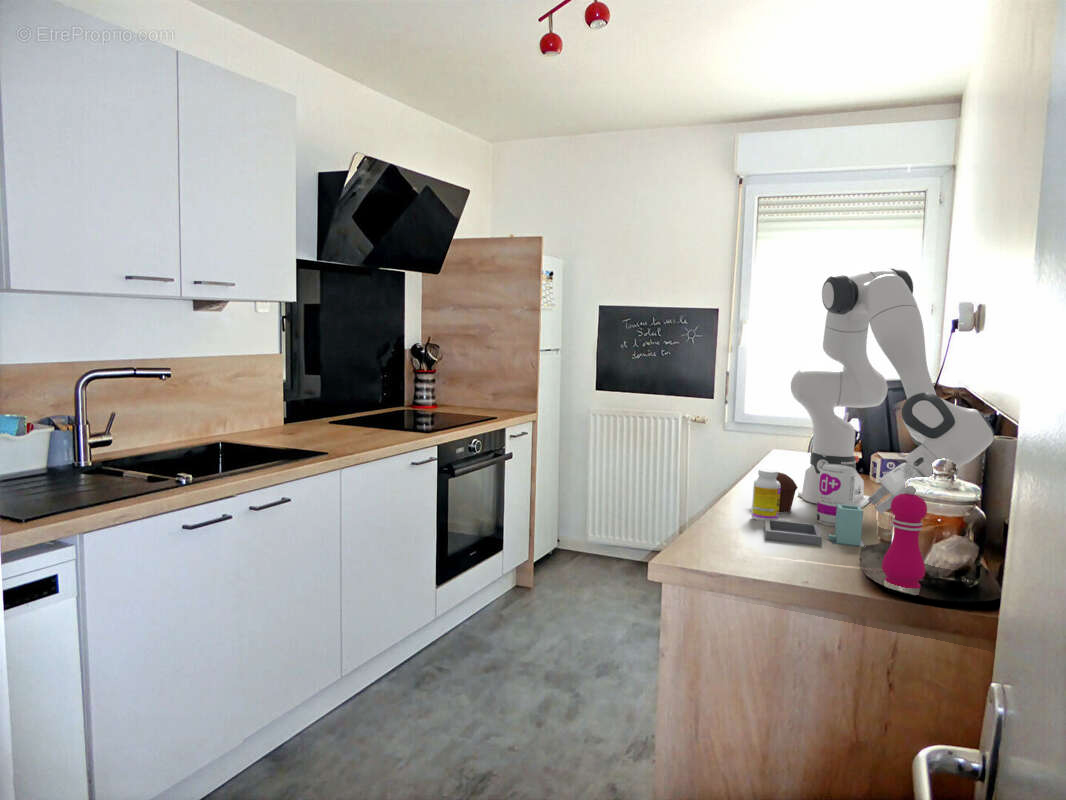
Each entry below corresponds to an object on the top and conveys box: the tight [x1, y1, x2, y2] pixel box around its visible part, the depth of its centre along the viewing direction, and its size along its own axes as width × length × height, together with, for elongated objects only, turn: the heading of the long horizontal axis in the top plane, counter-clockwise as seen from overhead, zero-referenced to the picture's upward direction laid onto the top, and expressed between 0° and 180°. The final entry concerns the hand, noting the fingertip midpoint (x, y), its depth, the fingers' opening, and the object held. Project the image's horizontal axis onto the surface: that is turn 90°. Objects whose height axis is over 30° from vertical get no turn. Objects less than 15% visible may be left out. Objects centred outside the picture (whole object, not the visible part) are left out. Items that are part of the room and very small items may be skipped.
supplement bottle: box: [751, 468, 781, 522], centre depth 188 cm, size 7×7×13 cm
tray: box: [764, 519, 823, 547], centre depth 171 cm, size 12×12×2 cm
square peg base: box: [830, 539, 865, 548], centre depth 169 cm, size 7×7×4 cm
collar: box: [827, 504, 864, 545], centre depth 169 cm, size 5×6×8 cm
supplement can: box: [815, 464, 855, 527], centre depth 186 cm, size 8×8×15 cm
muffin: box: [757, 471, 798, 513], centre depth 201 cm, size 12×11×10 cm
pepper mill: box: [881, 486, 928, 589], centre depth 136 cm, size 7×7×20 cm
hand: (873, 506), depth 167 cm, fingers open, 8 cm apart
